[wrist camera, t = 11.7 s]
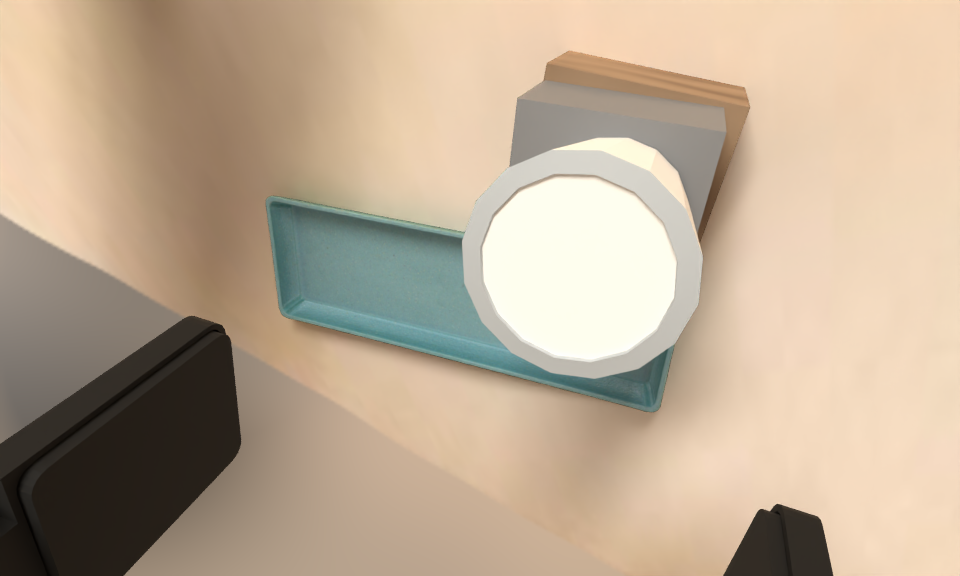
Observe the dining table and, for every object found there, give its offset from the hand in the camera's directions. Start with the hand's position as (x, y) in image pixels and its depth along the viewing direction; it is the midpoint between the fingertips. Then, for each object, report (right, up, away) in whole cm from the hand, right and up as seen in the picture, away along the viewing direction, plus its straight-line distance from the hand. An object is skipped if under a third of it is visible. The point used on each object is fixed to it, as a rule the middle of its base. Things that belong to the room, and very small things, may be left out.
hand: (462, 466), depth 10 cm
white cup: (+5, +6, +13) cm, 15 cm away
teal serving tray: (-1, +3, +28) cm, 29 cm away
